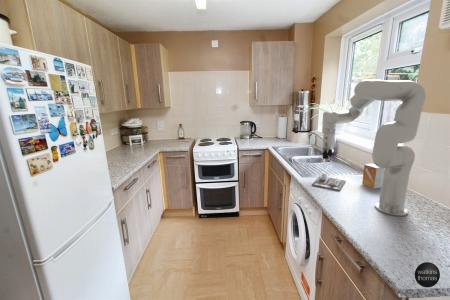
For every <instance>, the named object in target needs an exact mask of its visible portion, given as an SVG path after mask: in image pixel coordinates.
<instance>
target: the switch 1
mask: <svg viewBox="0 0 450 300" xmlns="http://www.w3.org/2000/svg"><path fill="white" fill-rule="evenodd" d="M327 175H328V173H327V172H321V177H322V179H321V181H326V180H327V178H328V177H327Z"/></svg>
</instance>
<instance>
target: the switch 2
mask: <svg viewBox="0 0 450 300" xmlns="http://www.w3.org/2000/svg"><path fill="white" fill-rule="evenodd" d="M330 178H331V184H330V186H334V187H336V185H337V184H336V181H337V179H338V177H335V176H331V177H330Z"/></svg>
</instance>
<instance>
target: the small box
mask: <svg viewBox="0 0 450 300" xmlns="http://www.w3.org/2000/svg"><path fill="white" fill-rule="evenodd" d="M384 169H385V168H380V167H378V166H376V165H375V164H374V163H365V164H364V167H363V175H362V185H363V186H366V187H369V188H372V189H373V190H374V189H379V188H380V189H381V184H382V177H383V172H384Z"/></svg>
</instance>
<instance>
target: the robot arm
mask: <svg viewBox="0 0 450 300" xmlns="http://www.w3.org/2000/svg"><path fill="white" fill-rule="evenodd" d="M353 93H354V95H353V96H352V97H350V101H349V102H350V105H351V107H350V108H348V109H346V110H337V111H336V110H335V111H333V110H332V111H330V110H329V111H324V112H323V113H322V128H321V130H322V132H321V134H323V135H322V136H323V137H322V159H323V160H328V159H329V157H332V156H333V148H335V134H336V126H337V125H339V124H348V123H349V124H350V123H351V122H354V121H355V120H356V119H358V118H359V117H360V116H361V115H362V114H363V112H364V109H365V108H367V107H368V106H369V105H371V104H372V103H373V102H375V101H380V102H381V101H382V102H390V101H391V102H393V101H395V102H396V101H400V103H399V105H398V106H397V109H396V110H395V113H394V119H393V121H391V122H387V123H385V122H384V124H382V125H380V127H379V128H378V129H377V131H376V133H375V137H374V144H373V148H372V154H371V155H372V156H371V158H372V162H373V164H375V165H376V166H378V167H380V168H384V172H383V177H382V184H381V187H380V194H379V200H378V202H376V203H375V204H374V207H375V209H376V210H378V211H380V212H381V213H383V214H387V215H390V216H395V217H396V216H397V217H404V216H407V215H408V214H409V210H408V208H406V207H405V203H406V197H407V191H408V184H409V180H410V179H409V178H410V174H411V171H412V170H411V169H412V167H413V165H414V162H415V160H416V159H415V156H416V154H415V151H414V150H413V149H412V148H411V147H409V146H408V145H404V143H405V144H406V143H410V142H412V141H413V140H415V138H416V136H417V134H418V133H417V132H418V129H419V124H420V120H421V116H422V111H423V107H424V105H425V101H426V95H427V94H426V91H425V88H424V87H423V85H421V84H420V83H418V82H417V81H413V80H406V79H405V80H402V79H401V80H382V79H363V80H361V81H359V82H357V84H356V85H355V87H354V89H353Z"/></svg>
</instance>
